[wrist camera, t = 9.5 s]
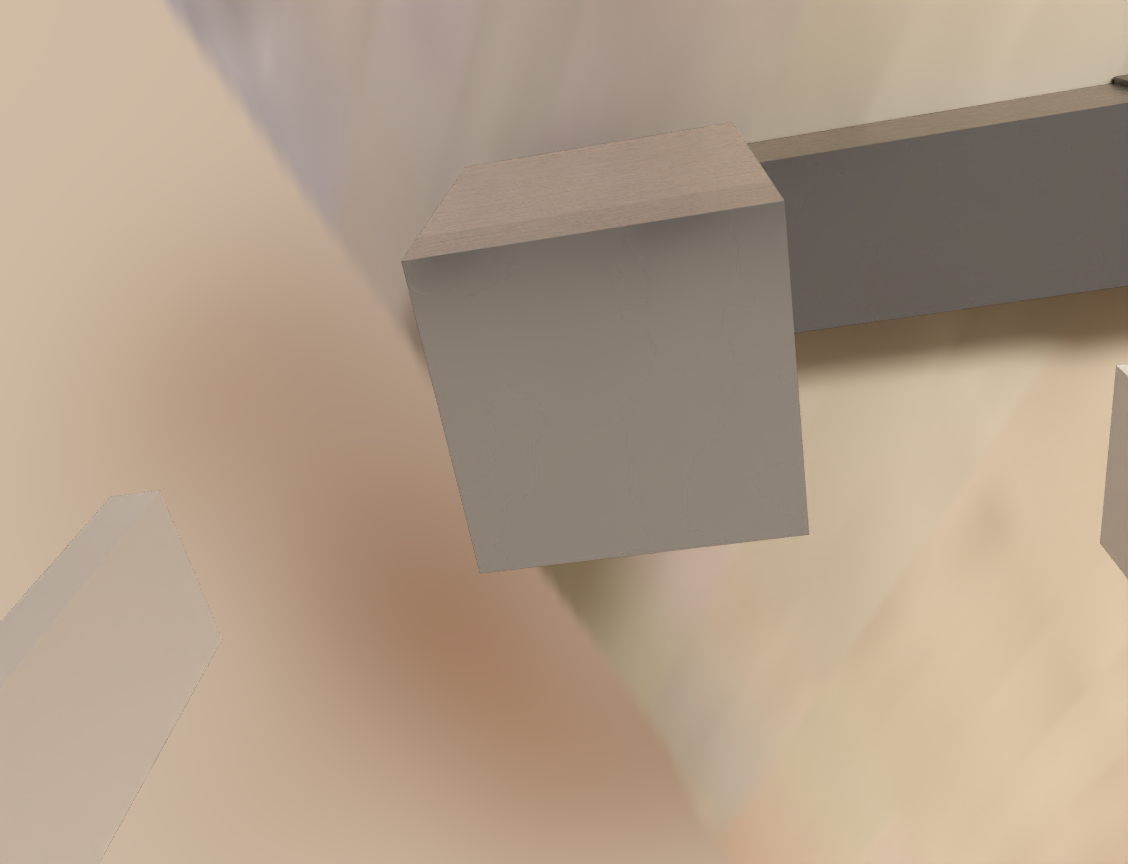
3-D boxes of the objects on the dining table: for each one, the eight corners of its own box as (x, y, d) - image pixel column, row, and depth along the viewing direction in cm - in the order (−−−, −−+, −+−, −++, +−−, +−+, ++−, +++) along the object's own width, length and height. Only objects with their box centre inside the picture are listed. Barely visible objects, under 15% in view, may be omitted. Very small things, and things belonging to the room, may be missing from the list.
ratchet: (528, 349, 29) (506, 452, 23) (492, 172, 26) (458, 236, 21) (1417, 221, 26) (1650, 300, 20) (1462, 10, 24) (1738, 31, 18)
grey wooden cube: (465, 167, 24) (401, 261, 17) (731, 122, 23) (785, 200, 16) (516, 405, 27) (480, 573, 20) (755, 372, 26) (808, 534, 19)
